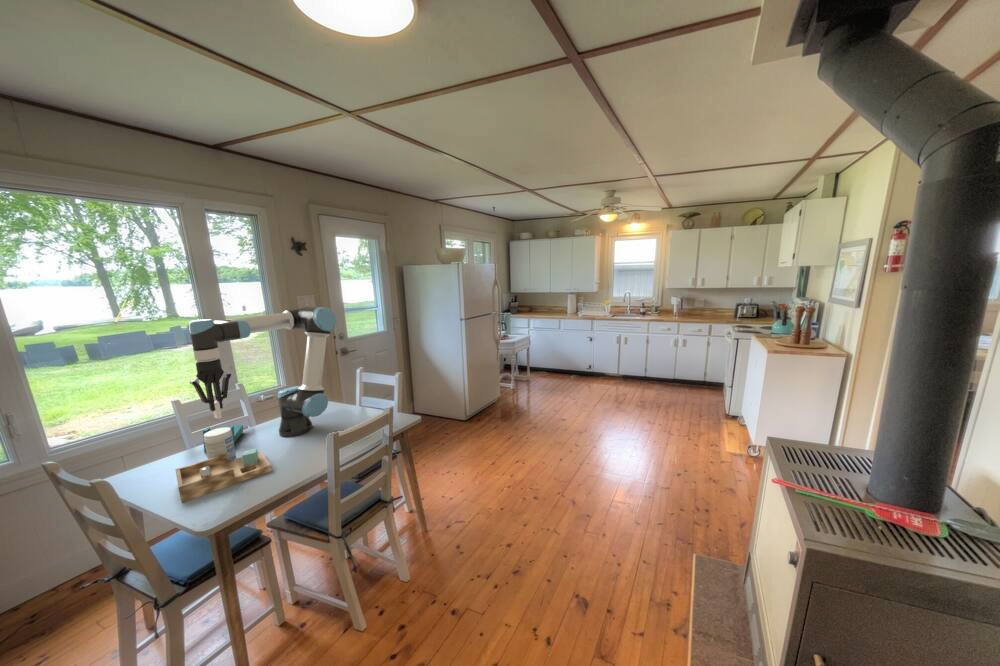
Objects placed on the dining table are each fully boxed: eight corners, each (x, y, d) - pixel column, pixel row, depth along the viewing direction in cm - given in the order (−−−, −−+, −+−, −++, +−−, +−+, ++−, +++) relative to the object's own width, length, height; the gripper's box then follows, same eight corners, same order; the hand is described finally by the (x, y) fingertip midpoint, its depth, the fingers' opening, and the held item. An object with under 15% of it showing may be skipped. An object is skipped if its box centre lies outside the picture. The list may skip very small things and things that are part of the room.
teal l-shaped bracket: (232, 449, 169) (231, 428, 168) (204, 452, 165) (202, 430, 164) (243, 434, 186) (242, 414, 184) (217, 436, 181) (216, 416, 180)
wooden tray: (261, 456, 160) (259, 443, 159) (271, 470, 147) (269, 457, 146) (178, 483, 140) (175, 469, 139) (181, 502, 128) (178, 487, 127)
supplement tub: (235, 464, 153) (230, 432, 151) (207, 472, 148) (201, 438, 146) (237, 455, 161) (232, 425, 159) (210, 462, 156) (204, 430, 154)
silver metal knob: (212, 479, 137) (209, 465, 136) (213, 482, 135) (210, 468, 134) (202, 483, 135) (199, 468, 134) (203, 486, 133) (200, 471, 132)
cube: (258, 458, 153) (256, 448, 152) (256, 462, 149) (255, 452, 148) (245, 460, 151) (244, 450, 150) (243, 465, 147) (242, 455, 146)
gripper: (223, 355, 145) (232, 410, 149) (182, 362, 134) (193, 421, 138) (231, 356, 141) (241, 413, 145) (190, 364, 131) (202, 425, 134)
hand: (218, 417), depth 142 cm, fingers closed
